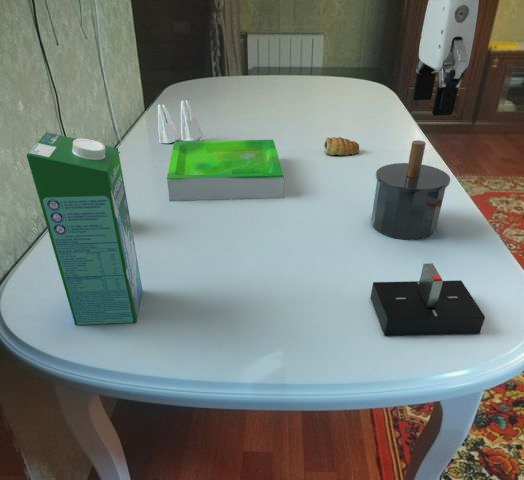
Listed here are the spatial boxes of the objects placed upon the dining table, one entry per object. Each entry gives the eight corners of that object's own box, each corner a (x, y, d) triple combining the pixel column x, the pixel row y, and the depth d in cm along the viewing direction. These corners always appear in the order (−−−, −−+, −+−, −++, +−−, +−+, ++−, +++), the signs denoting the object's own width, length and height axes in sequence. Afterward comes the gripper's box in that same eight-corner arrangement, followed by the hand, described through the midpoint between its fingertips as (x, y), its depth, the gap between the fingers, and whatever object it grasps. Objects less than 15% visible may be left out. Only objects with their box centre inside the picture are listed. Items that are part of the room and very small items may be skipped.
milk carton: (136, 322, 76) (103, 151, 60) (74, 325, 75) (25, 153, 59) (142, 290, 83) (114, 129, 67) (86, 292, 82) (44, 130, 66)
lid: (436, 168, 101) (444, 130, 97) (459, 195, 91) (469, 154, 86) (368, 169, 101) (373, 131, 96) (383, 196, 90) (390, 155, 86)
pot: (425, 211, 106) (435, 166, 100) (444, 239, 97) (456, 190, 91) (365, 212, 106) (372, 167, 100) (378, 240, 96) (386, 191, 90)
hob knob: (417, 289, 77) (423, 261, 74) (426, 289, 77) (433, 261, 74) (426, 307, 73) (433, 279, 70) (436, 307, 73) (443, 279, 70)
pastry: (356, 148, 139) (357, 133, 136) (361, 156, 133) (362, 141, 131) (322, 148, 138) (323, 134, 136) (325, 157, 133) (327, 142, 131)
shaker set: (203, 141, 143) (200, 98, 136) (200, 146, 140) (197, 102, 133) (163, 139, 145) (158, 97, 138) (158, 144, 142) (153, 101, 135)
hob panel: (456, 296, 81) (461, 279, 79) (480, 333, 73) (486, 316, 71) (370, 298, 81) (373, 281, 79) (384, 336, 73) (387, 318, 71)
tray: (176, 161, 130) (174, 141, 127) (273, 159, 131) (273, 139, 128) (169, 200, 111) (166, 178, 108) (283, 197, 112) (283, 175, 109)
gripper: (508, -19, 66) (474, 120, 77) (458, -26, 79) (435, 94, 90) (452, -18, 65) (426, 122, 76) (411, -26, 79) (394, 95, 90)
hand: (431, 106), depth 83 cm, fingers open, 9 cm apart
